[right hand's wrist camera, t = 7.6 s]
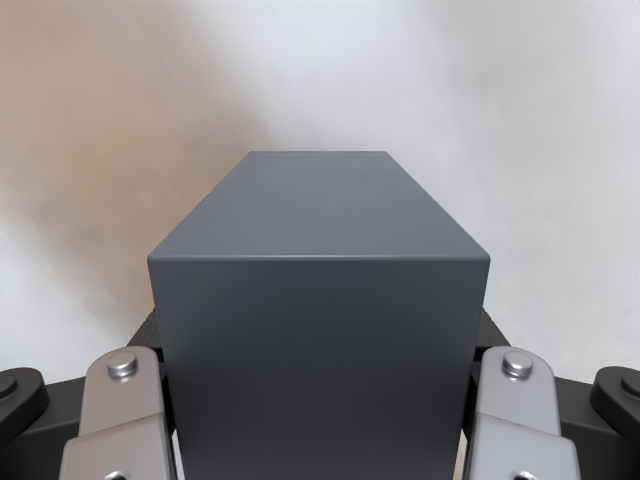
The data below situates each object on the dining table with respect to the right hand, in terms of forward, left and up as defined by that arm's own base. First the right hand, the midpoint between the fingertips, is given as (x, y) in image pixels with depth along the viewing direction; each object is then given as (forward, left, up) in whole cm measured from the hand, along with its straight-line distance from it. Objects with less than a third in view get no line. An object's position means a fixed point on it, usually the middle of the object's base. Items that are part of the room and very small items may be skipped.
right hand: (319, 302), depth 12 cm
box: (+2, +9, -7) cm, 11 cm away
